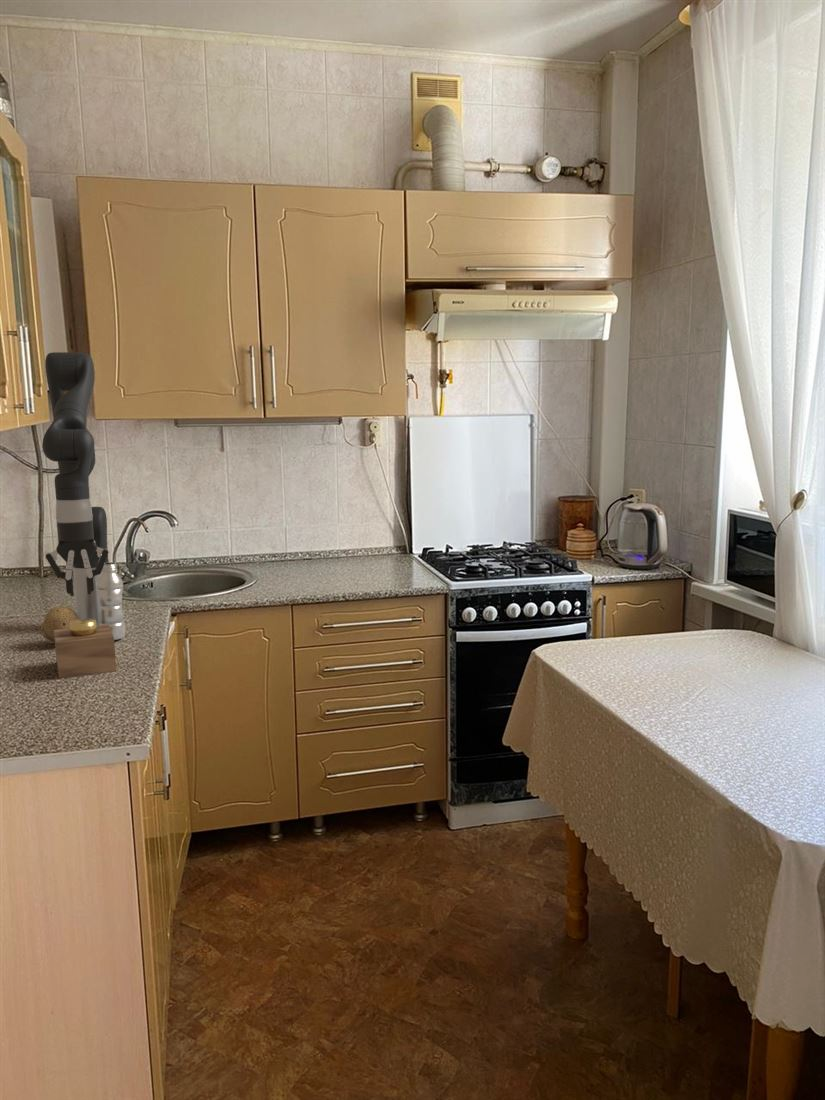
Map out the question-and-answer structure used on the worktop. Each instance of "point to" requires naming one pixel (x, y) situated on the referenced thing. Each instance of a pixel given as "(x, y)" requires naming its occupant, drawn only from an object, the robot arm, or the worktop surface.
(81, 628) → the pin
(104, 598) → the plastic bottle
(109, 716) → the worktop surface
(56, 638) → the block
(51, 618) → the natural sponge
